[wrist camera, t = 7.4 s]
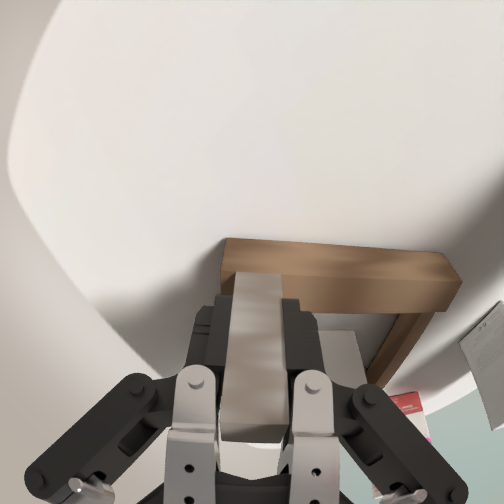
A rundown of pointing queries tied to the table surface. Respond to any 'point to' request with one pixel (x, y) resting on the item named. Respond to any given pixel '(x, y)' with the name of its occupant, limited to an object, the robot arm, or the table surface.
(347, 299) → the pull frame
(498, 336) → the skincare box
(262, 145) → the table surface
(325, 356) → the white cube
